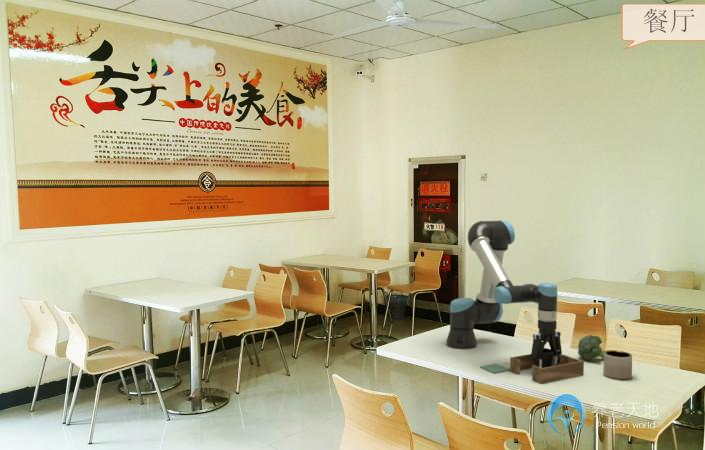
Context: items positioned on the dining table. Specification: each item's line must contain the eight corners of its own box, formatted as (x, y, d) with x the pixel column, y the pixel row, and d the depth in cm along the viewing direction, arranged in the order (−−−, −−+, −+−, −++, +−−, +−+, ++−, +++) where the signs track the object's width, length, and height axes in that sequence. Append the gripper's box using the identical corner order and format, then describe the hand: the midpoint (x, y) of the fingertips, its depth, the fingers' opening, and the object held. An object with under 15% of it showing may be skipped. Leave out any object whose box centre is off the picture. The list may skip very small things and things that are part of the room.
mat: (480, 367, 243) (480, 366, 242) (496, 364, 246) (496, 363, 246) (493, 373, 234) (493, 372, 234) (510, 370, 238) (510, 369, 238)
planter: (597, 374, 234) (597, 351, 234) (616, 370, 238) (616, 349, 238) (618, 381, 224) (619, 358, 224) (637, 378, 228) (638, 355, 228)
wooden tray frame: (510, 371, 238) (510, 357, 237) (550, 363, 248) (551, 350, 248) (541, 383, 222) (541, 369, 221) (583, 375, 232) (583, 361, 232)
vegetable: (617, 361, 245) (586, 346, 245) (599, 374, 254) (570, 359, 254) (616, 340, 254) (587, 325, 254) (599, 353, 263) (571, 339, 263)
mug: (553, 378, 228) (554, 356, 227) (528, 371, 237) (529, 349, 237) (564, 374, 233) (565, 352, 232) (539, 367, 242) (540, 346, 242)
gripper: (535, 324, 226) (534, 378, 227) (571, 319, 235) (570, 371, 236) (522, 320, 232) (521, 373, 234) (558, 315, 242) (557, 366, 243)
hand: (546, 372), depth 235 cm, fingers closed on mug, 8 cm apart
